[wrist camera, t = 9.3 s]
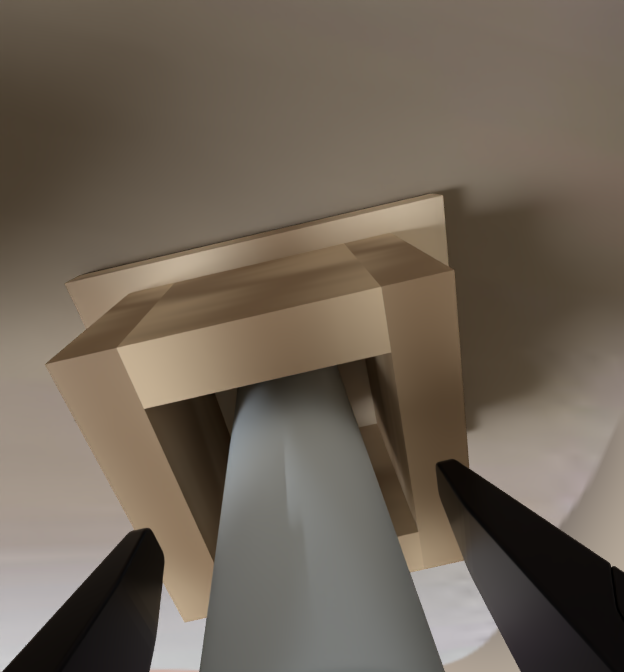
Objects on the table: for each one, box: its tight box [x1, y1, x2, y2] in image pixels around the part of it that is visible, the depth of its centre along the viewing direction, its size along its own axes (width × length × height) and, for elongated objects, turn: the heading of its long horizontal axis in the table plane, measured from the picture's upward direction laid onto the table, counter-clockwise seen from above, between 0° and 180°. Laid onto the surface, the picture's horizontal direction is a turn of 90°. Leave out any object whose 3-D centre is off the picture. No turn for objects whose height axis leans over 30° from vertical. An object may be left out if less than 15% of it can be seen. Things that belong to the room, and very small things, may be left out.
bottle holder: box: [45, 193, 469, 622], centre depth 13 cm, size 12×10×6 cm
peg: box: [199, 365, 445, 672], centre depth 10 cm, size 4×4×10 cm
